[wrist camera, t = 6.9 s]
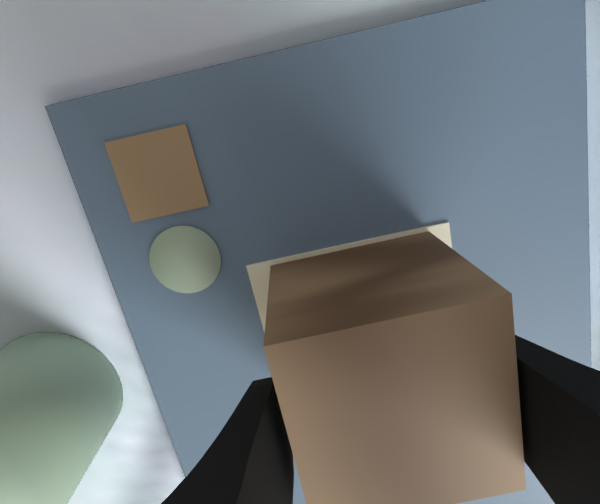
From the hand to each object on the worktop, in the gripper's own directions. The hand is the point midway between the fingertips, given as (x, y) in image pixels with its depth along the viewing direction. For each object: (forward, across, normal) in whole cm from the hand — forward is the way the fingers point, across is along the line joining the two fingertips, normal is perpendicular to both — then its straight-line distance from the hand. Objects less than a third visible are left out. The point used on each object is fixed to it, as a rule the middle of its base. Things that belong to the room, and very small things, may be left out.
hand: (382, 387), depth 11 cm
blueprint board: (+3, 0, 0) cm, 3 cm away
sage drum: (+3, +11, 0) cm, 12 cm away
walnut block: (+3, 0, -1) cm, 3 cm away
